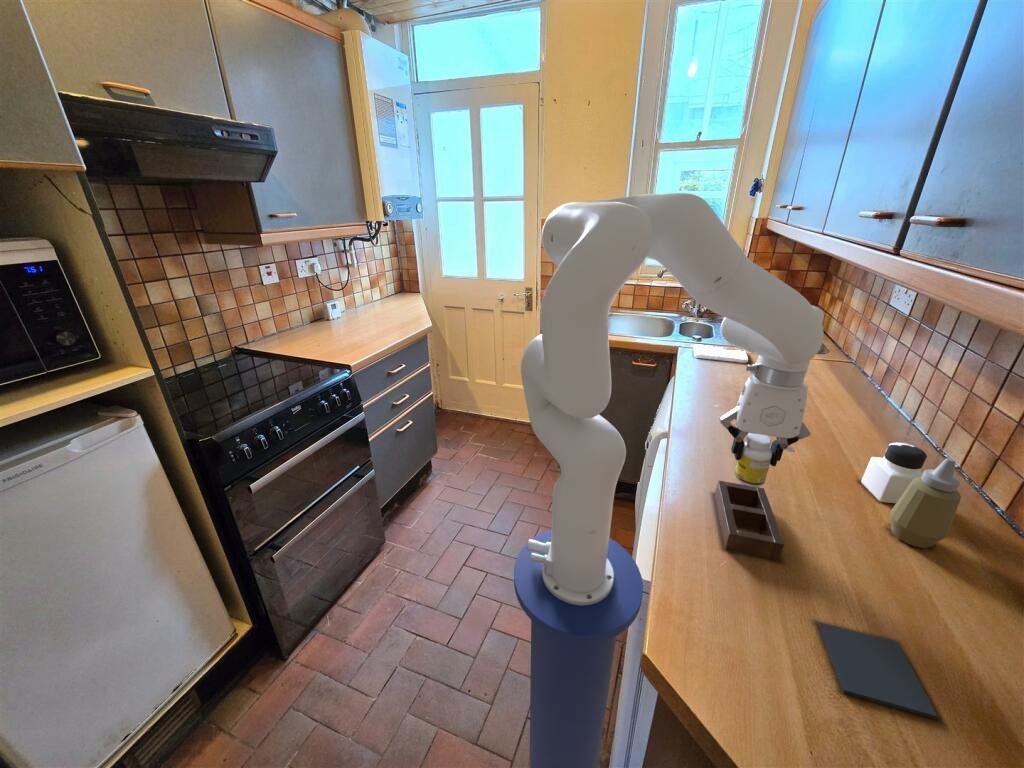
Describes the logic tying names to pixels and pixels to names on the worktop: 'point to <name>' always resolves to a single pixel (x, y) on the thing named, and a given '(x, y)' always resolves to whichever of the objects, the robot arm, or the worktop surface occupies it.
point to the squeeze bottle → (927, 507)
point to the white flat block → (720, 354)
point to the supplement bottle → (754, 460)
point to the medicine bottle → (893, 471)
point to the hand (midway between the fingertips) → (753, 458)
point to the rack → (748, 521)
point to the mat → (875, 670)
